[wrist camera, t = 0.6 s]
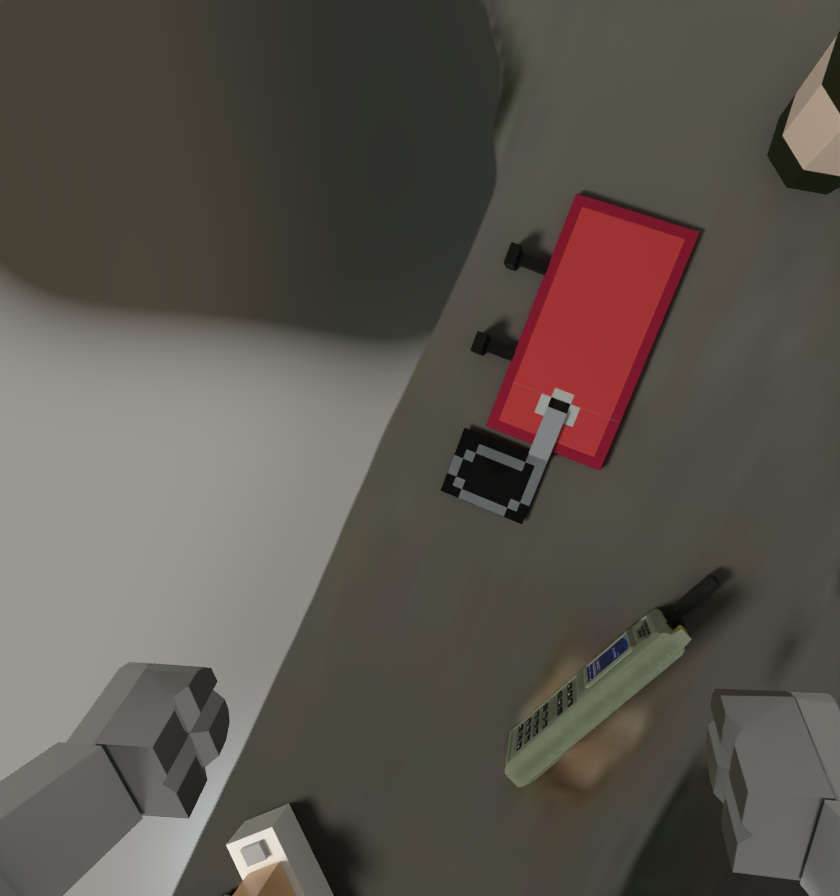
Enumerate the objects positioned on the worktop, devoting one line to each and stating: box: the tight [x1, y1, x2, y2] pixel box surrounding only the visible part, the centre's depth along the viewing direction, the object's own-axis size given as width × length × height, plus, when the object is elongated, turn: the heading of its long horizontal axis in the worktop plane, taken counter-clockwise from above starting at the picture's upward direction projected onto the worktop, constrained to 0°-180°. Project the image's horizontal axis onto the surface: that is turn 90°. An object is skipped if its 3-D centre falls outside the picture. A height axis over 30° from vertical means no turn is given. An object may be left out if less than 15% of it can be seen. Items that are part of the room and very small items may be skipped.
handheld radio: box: [505, 575, 720, 787], centre depth 58 cm, size 7×3×25 cm
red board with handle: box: [441, 194, 700, 524], centre depth 59 cm, size 30×3×15 cm
